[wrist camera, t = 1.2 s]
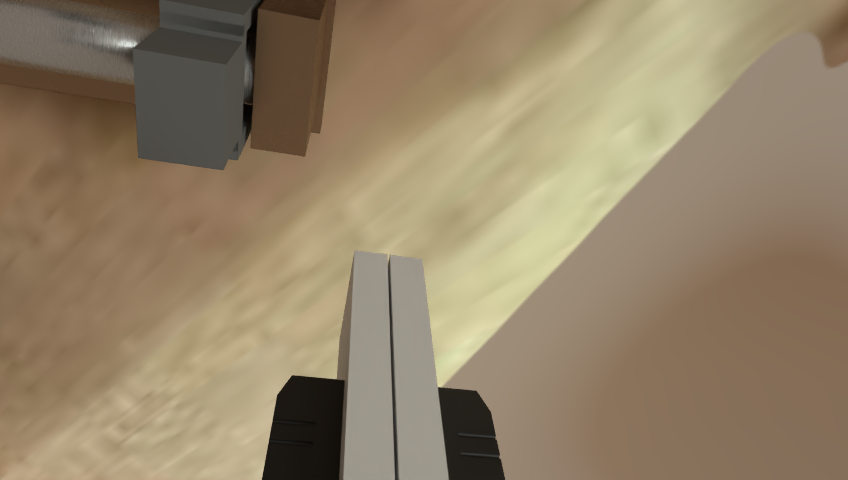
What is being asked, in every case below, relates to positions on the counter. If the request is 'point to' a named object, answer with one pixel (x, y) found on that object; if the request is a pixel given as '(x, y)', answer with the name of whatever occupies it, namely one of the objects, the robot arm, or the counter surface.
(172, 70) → the collar
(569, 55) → the counter surface
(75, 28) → the pipe rig
